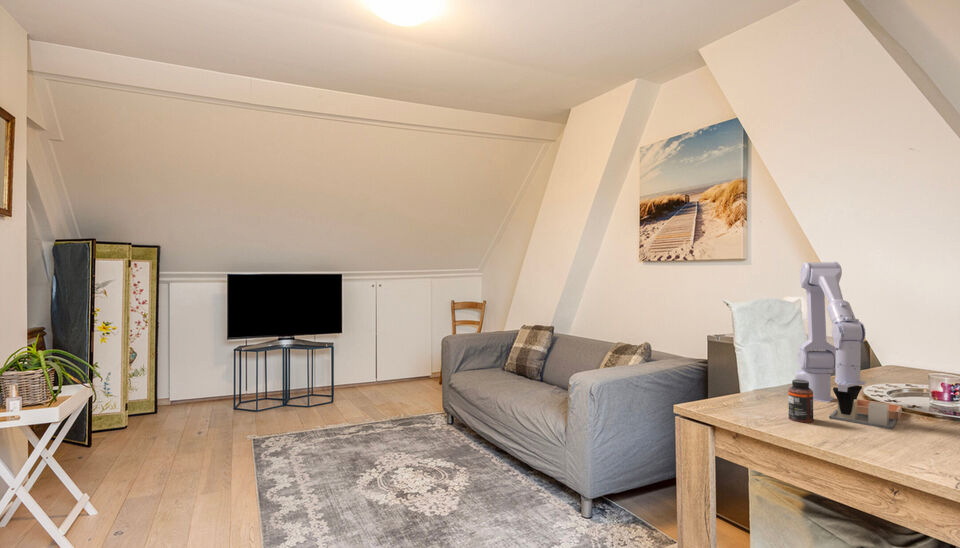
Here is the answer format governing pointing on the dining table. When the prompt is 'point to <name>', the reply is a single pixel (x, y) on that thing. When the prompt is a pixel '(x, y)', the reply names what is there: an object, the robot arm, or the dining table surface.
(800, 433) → the dining table surface
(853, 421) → the parts tray
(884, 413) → the cream cube on tray
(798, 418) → the supplement bottle
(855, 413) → the tan cube
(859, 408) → the terracotta dish
